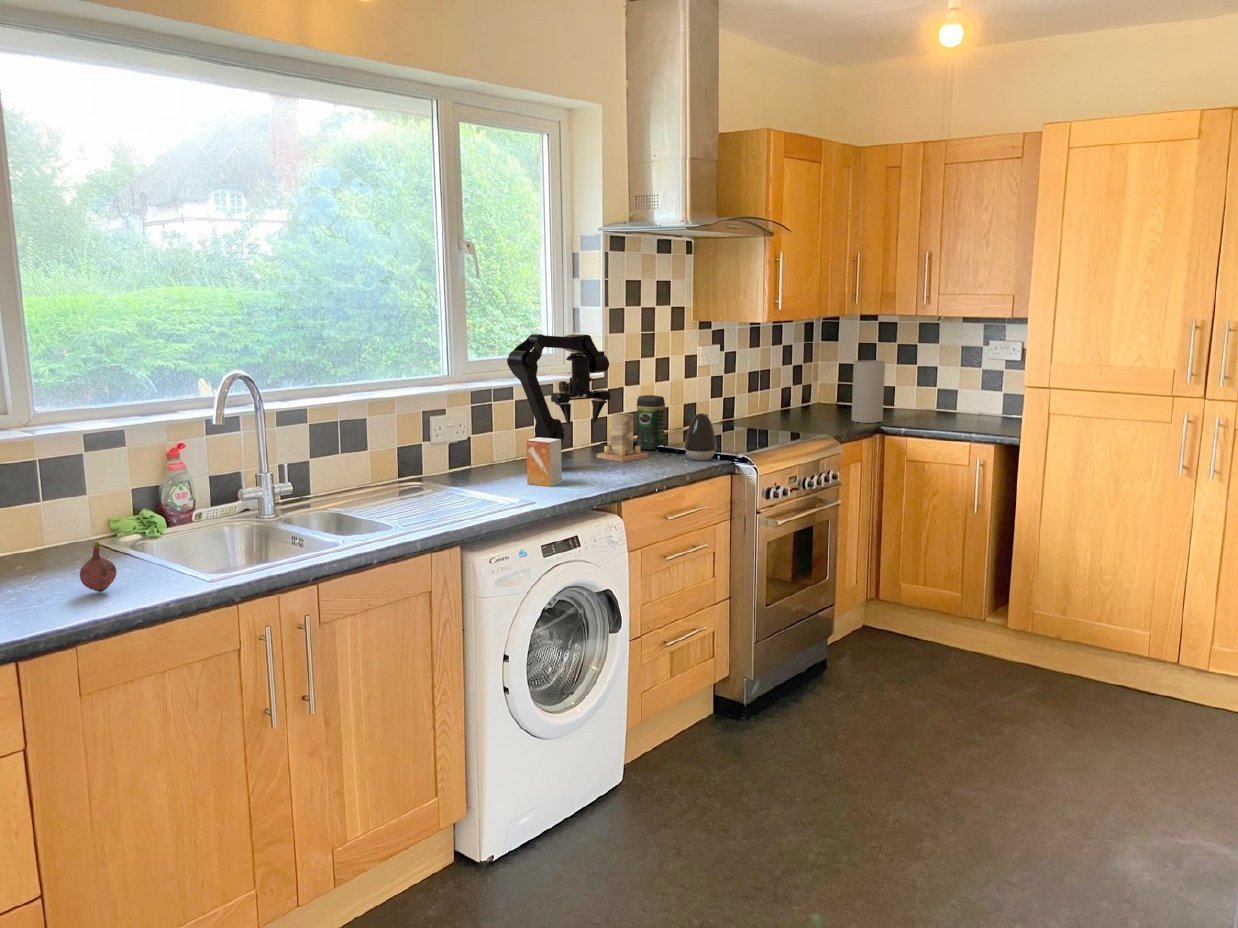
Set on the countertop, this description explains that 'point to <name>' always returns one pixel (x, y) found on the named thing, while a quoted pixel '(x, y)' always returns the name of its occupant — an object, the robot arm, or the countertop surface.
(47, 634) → the countertop surface
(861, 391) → the cylinder vase
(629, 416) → the maple block
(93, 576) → the vegetable
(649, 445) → the coffee jar
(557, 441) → the small box
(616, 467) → the countertop surface
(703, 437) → the dark egg shaped diffuser
